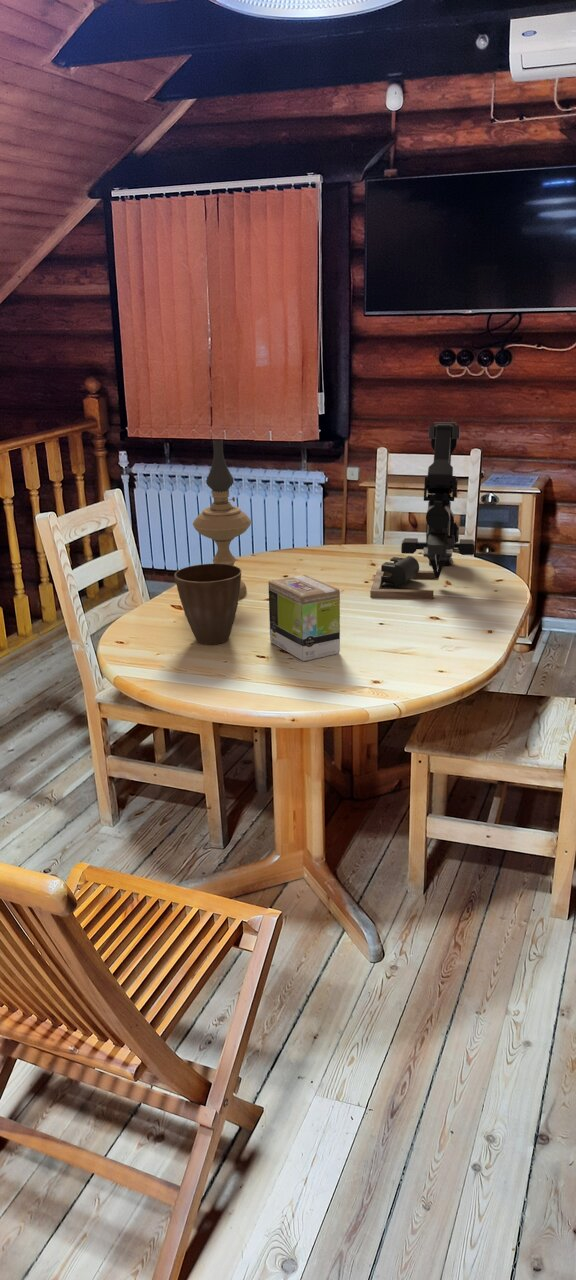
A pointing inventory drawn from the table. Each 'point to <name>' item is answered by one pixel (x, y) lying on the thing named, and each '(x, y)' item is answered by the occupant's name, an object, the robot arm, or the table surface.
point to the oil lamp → (222, 512)
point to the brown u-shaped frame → (397, 593)
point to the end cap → (399, 571)
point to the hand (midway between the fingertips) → (437, 578)
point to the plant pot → (209, 599)
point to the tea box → (304, 617)
